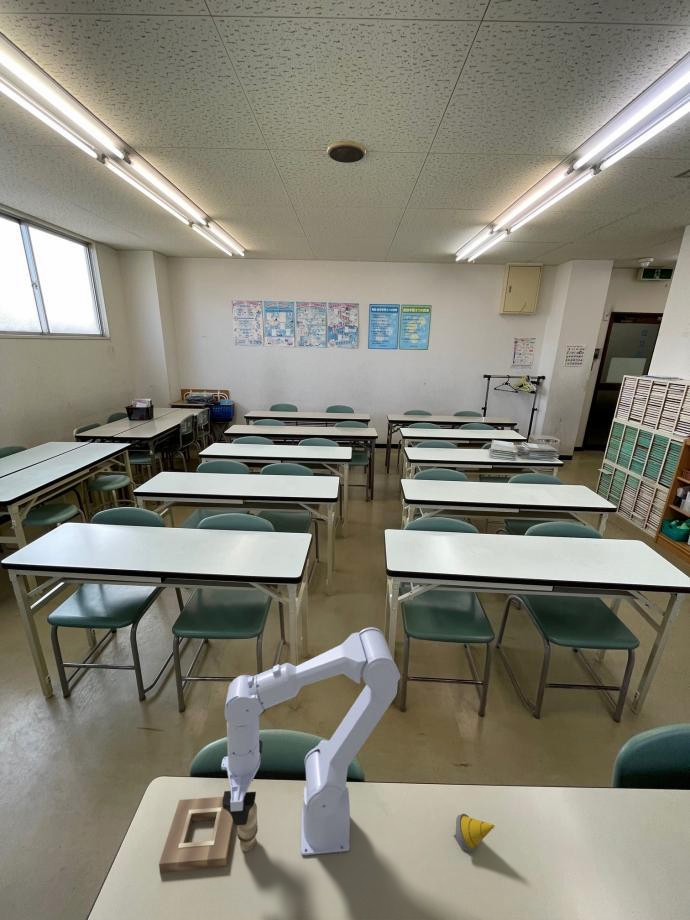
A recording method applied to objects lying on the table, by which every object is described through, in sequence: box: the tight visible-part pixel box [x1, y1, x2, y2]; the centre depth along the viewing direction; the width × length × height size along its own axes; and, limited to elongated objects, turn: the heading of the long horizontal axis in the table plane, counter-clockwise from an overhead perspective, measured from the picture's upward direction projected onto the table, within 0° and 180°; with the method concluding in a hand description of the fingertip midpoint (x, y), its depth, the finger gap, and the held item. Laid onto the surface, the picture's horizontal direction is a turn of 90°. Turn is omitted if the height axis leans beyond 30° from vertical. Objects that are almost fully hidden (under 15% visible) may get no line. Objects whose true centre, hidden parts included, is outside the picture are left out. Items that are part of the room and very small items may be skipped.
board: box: [158, 796, 235, 873], centre depth 75 cm, size 12×11×2 cm
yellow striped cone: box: [453, 813, 496, 853], centre depth 74 cm, size 5×5×10 cm
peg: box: [236, 801, 259, 853], centre depth 74 cm, size 4×4×8 cm
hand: (244, 800), depth 73 cm, fingers open, 7 cm apart
